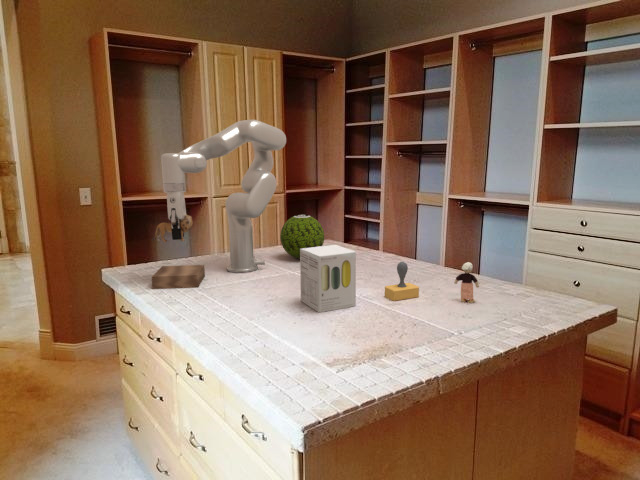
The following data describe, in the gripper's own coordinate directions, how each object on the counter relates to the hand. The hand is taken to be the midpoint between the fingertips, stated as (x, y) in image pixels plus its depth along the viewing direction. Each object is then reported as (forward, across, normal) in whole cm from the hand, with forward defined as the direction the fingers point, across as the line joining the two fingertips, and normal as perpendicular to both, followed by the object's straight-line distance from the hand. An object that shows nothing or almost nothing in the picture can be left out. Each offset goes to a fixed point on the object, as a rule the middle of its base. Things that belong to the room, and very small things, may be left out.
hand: (178, 237), depth 171 cm
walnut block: (+17, 0, +1) cm, 17 cm away
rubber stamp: (+18, -29, -76) cm, 83 cm away
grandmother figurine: (+18, -36, -95) cm, 103 cm away
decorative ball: (+18, +34, -48) cm, 61 cm away
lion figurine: (+1, 0, +2) cm, 2 cm away
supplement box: (+18, -32, -51) cm, 63 cm away
